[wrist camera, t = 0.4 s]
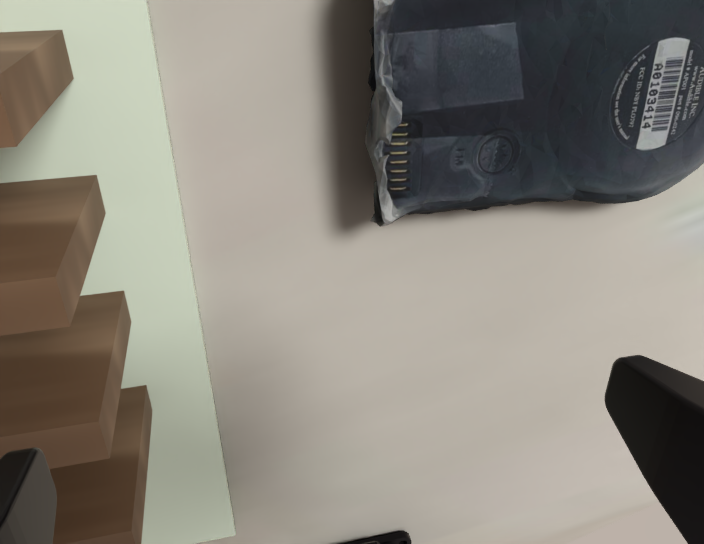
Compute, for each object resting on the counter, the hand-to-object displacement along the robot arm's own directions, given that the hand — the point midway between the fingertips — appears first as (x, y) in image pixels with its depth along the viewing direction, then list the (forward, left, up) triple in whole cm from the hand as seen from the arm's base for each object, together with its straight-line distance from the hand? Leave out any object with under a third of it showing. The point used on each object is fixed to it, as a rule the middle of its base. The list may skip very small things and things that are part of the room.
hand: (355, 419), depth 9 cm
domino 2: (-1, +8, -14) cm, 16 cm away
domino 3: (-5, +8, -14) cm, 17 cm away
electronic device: (+2, -11, -15) cm, 18 cm away
